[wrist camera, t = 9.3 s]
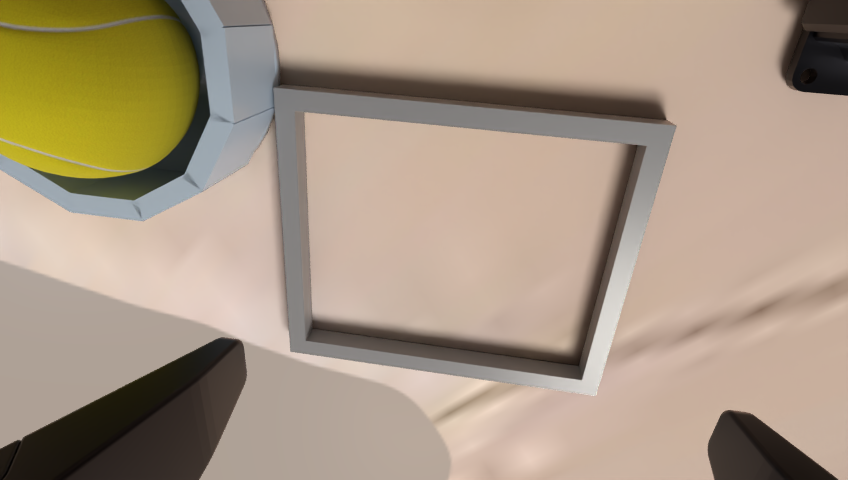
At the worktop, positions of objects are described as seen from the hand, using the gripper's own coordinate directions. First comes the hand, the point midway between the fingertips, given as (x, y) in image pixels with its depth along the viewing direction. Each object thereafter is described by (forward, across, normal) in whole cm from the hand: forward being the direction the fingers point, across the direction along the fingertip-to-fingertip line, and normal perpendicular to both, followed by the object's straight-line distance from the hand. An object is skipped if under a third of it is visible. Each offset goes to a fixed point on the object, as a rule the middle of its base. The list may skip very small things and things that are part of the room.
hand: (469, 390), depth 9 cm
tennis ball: (+12, +14, -4) cm, 18 cm away
